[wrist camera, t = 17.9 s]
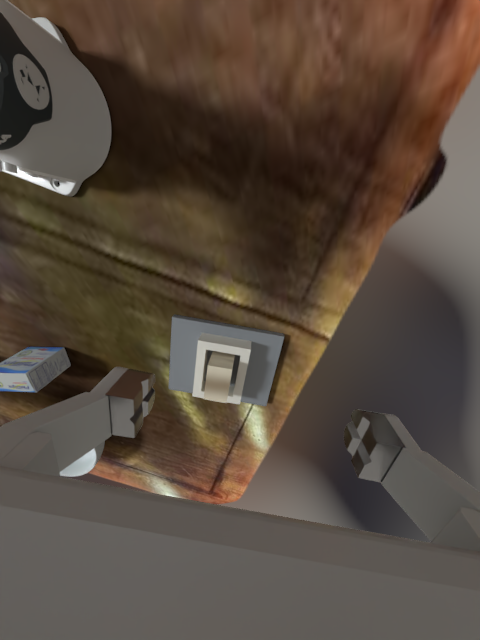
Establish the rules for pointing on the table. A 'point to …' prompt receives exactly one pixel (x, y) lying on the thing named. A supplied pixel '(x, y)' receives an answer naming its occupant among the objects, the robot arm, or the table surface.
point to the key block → (218, 376)
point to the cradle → (207, 336)
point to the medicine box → (32, 368)
